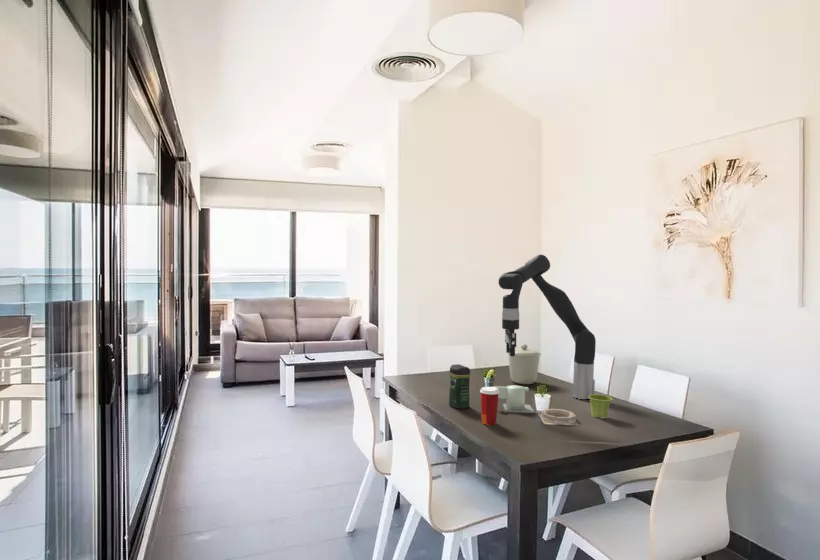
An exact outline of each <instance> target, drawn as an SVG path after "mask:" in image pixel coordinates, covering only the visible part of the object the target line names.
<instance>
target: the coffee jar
mask: <svg viewBox="0 0 820 560" xmlns="http://www.w3.org/2000/svg"><path fill="white" fill-rule="evenodd" d="M470 377H471V369H470V368H469V367H467V366H464V365H462V364H460V363H459V364H458V363H457V364H452V365H450V367H449V395H448V397H449V398H448V404H449V406H451V408H452V407H453V408H455V409H461V410H463V409H467V408H469V407H470Z"/></svg>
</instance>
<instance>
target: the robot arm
mask: <svg viewBox="0 0 820 560" xmlns="http://www.w3.org/2000/svg"><path fill="white" fill-rule="evenodd" d="M550 269H551V262H550V260H549V259H548V257H547V256H546V255H544V254H537V255H535V256H534V257H532V258H531V259H529V260H527V261H526V262H525V263H524V265H522V266H521V267H519V268H516V269H515V270H512V271H508V272H504V273H502V274H501V275H500V276H499V278H498V286H499V287H500V288H501V289H502V290H512V291H511V293H509V294H506V295H504V296H502V312H501V321H502V322H501V328H502V329H503V330H505V333H504V334H505V337H504V339H505V340H504V342H505V345H506V347H505V349H506V351H505V352H506V353H507V354H508V353H510V356H515V348H517V332H515V330H519V329H520V309H519V308H520V307H519V305H520V304H519V303H520V301H519V299H520V295H521V292H522V287H523V284H524V283H526V282H528V281H529V280H530V279H532V281H533V282H534V284H535V285H536V286H537V287H538V288H539V290H540V291H541V293H542V295H543V296H544V297H545V299H546V300H547V302H548V303H549V305H550V307H551V309H552V310H553V312H554V313H555V314H556V316H557V317H558V318H559V320H561V321H562V322H563V324H564V325H565V326H566V327H567V329H568V331H569V332H570V334H571V337H572V339H573V341H574V343H575V344H574V355H573V356H574V357H573V383H572V384H573V385H572V397H573V398H574V397H575V398H574V399H576V398H578V399H577V400H580V399H589V397H588V396H589V395H595V389H596V388H595V386H596V385H595V384H596V381H595V378H594V377H595V376H594V372H595V371H594V370H595V358H596V347H597V346H596V342H597V341H596V336H595V334H594V333H592V332H591V331H590V330H589V328H587V326H586V325H585V324H584V322H582V321H583V320H581V318H580V316H579V315H578V313H577V311H576V309H575V306H574V304H573V303H572V301H571V300H570V297H568V295H567V293H566V292H565V291H564V290H562V289H560V288H558V286H557V287H556V286H554V285H552V284H551V283H549V282H547V280H545V278H544V277H543V276H542V275H543V274H545V273H547V272H548V271H549V270H550Z"/></svg>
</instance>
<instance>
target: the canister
mask: <svg viewBox="0 0 820 560" xmlns="http://www.w3.org/2000/svg"><path fill="white" fill-rule="evenodd" d="M541 355H542V352H539V351H538V350H536V349H534V348H533V349H532V348H528V345H527V344H525V343H522V344H521V345H520V347H518V348H517V347H515V356H510V353H507V356H508V367H509V377H510V380H511V381H512V382H513V383H514V384H517V385H518V384H520V385H532V384H534V383H535V382H536V381H537V377H538V371H539V366H540V365H539V364H540V356H541Z"/></svg>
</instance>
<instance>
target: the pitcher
mask: <svg viewBox="0 0 820 560" xmlns="http://www.w3.org/2000/svg"><path fill="white" fill-rule="evenodd" d="M492 387H495V388H498V390H499V395H498V400H499V399H503V400H505V399H506V402H505V404H506V408H508V409H511V410H523V409H525V405H526V402H525V401H526V392H529V391H530V390H529V387H528V386H522V385H516V384H515V385H506V386H495V385H494V386H492Z"/></svg>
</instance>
